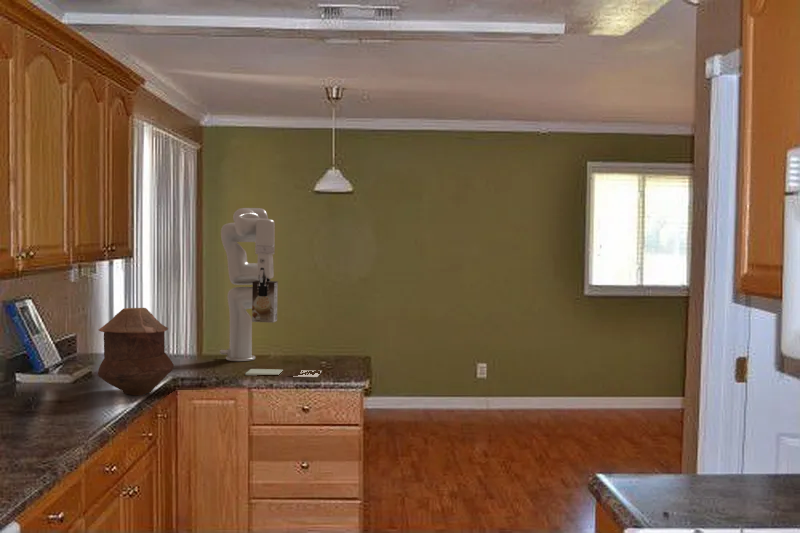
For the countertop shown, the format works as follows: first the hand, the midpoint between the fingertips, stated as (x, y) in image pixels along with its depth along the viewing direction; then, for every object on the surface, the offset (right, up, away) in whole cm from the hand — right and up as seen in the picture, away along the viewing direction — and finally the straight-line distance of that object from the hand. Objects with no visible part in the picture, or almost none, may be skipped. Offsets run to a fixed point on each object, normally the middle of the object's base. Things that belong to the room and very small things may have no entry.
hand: (264, 295), depth 347 cm
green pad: (0, -31, +2) cm, 31 cm away
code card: (+16, -31, +2) cm, 35 cm away
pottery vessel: (-39, -33, -40) cm, 65 cm away
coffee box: (0, -11, +1) cm, 11 cm away
